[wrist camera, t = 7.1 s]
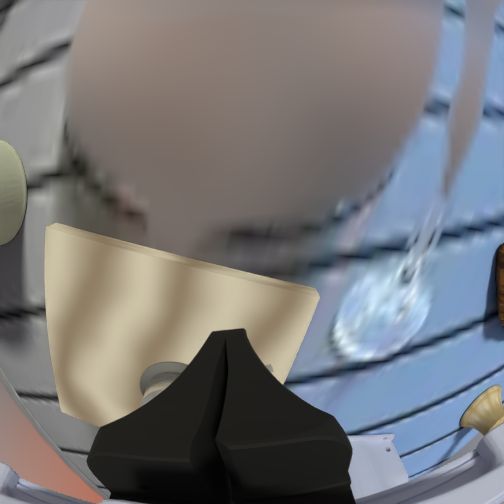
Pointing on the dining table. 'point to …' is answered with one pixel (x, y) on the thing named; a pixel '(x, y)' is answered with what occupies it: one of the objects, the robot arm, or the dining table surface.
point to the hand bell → (485, 411)
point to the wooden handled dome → (158, 385)
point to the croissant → (500, 282)
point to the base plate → (152, 318)
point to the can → (11, 192)
